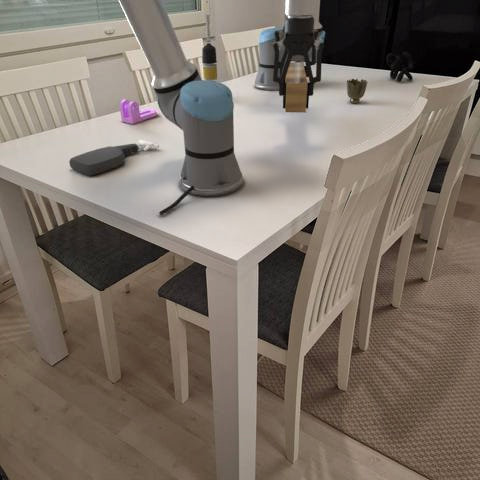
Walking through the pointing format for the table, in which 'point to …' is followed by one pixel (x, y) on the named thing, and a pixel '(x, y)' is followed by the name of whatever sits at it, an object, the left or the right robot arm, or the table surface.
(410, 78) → the squiggle
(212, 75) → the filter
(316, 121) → the table surface
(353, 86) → the cup
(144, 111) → the bracket
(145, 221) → the table surface
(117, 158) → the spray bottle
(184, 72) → the left robot arm
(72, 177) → the table surface
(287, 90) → the bar
